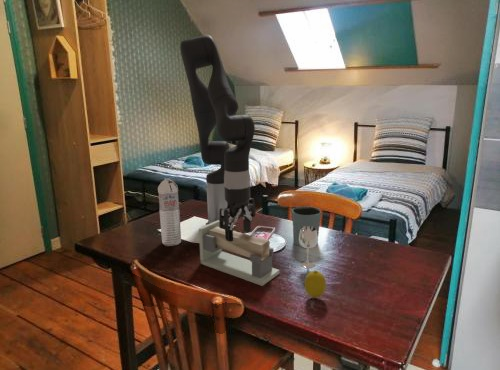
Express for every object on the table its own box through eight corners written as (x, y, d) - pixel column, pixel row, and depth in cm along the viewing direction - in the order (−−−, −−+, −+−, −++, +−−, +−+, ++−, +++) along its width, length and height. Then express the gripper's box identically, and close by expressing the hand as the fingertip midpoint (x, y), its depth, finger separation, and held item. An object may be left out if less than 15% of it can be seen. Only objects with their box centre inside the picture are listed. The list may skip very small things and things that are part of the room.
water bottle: (183, 239, 145) (179, 173, 138) (178, 247, 138) (173, 177, 132) (165, 238, 145) (160, 172, 139) (159, 246, 139) (153, 177, 132)
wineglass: (318, 261, 126) (319, 226, 122) (315, 270, 120) (316, 233, 117) (300, 259, 127) (301, 224, 124) (296, 267, 122) (297, 231, 119)
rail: (218, 240, 128) (217, 226, 127) (269, 256, 116) (269, 240, 115) (209, 244, 125) (209, 230, 123) (261, 261, 113) (261, 245, 112)
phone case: (264, 245, 139) (275, 230, 153) (264, 242, 139) (275, 227, 153) (244, 243, 142) (257, 228, 155) (244, 240, 141) (257, 225, 155)
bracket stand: (219, 253, 132) (218, 220, 129) (279, 273, 118) (279, 236, 115) (200, 263, 125) (198, 228, 122) (262, 286, 112) (262, 246, 108)
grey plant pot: (287, 245, 138) (288, 213, 135) (295, 235, 147) (296, 204, 144) (316, 249, 134) (317, 216, 131) (322, 239, 143) (324, 207, 140)
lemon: (302, 293, 108) (302, 266, 105) (322, 291, 108) (323, 265, 106) (306, 304, 102) (307, 276, 100) (327, 303, 103) (328, 275, 101)
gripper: (242, 177, 123) (243, 226, 127) (211, 188, 112) (213, 241, 116) (261, 181, 118) (262, 231, 123) (231, 192, 107) (233, 247, 112)
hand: (238, 236), depth 119 cm, fingers open, 8 cm apart
